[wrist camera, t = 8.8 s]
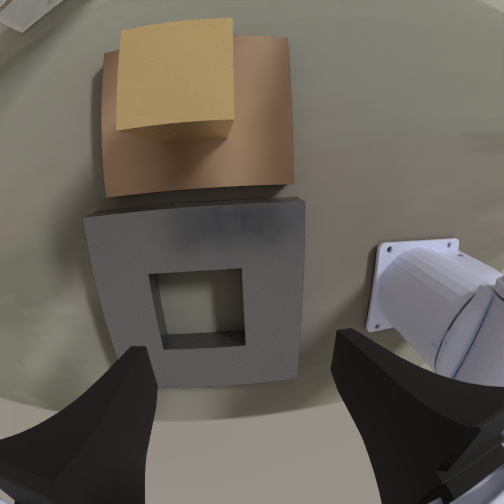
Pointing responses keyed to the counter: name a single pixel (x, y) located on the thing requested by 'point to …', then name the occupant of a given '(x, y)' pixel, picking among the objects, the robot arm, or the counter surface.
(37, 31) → the counter surface
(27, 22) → the syrup box
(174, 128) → the brass peg
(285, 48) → the walnut board
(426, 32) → the counter surface
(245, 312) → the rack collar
